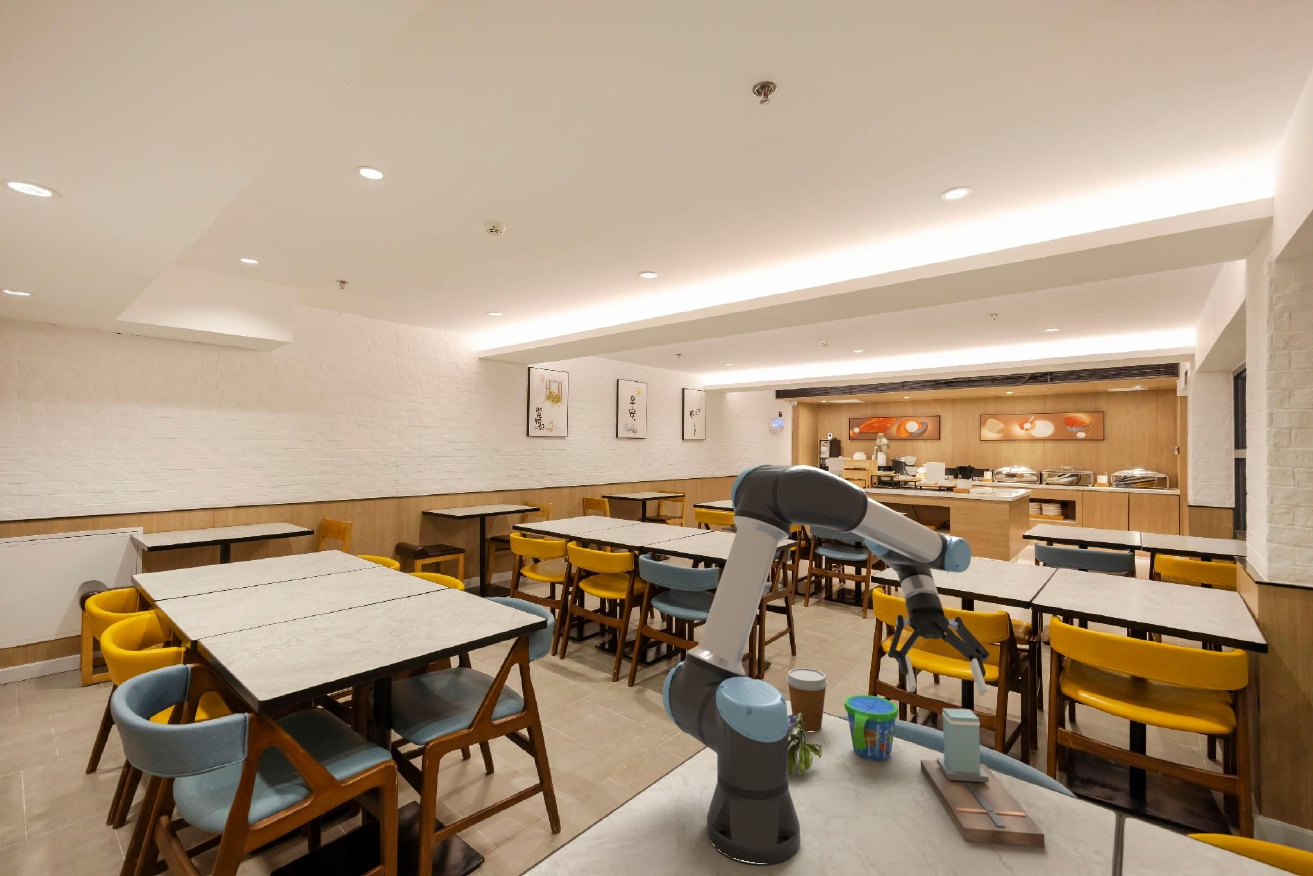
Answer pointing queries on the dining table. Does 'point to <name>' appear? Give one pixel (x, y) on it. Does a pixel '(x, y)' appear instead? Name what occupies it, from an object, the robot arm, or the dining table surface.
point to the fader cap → (961, 746)
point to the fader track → (983, 809)
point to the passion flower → (799, 746)
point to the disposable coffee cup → (807, 696)
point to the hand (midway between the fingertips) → (948, 690)
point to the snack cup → (871, 725)
